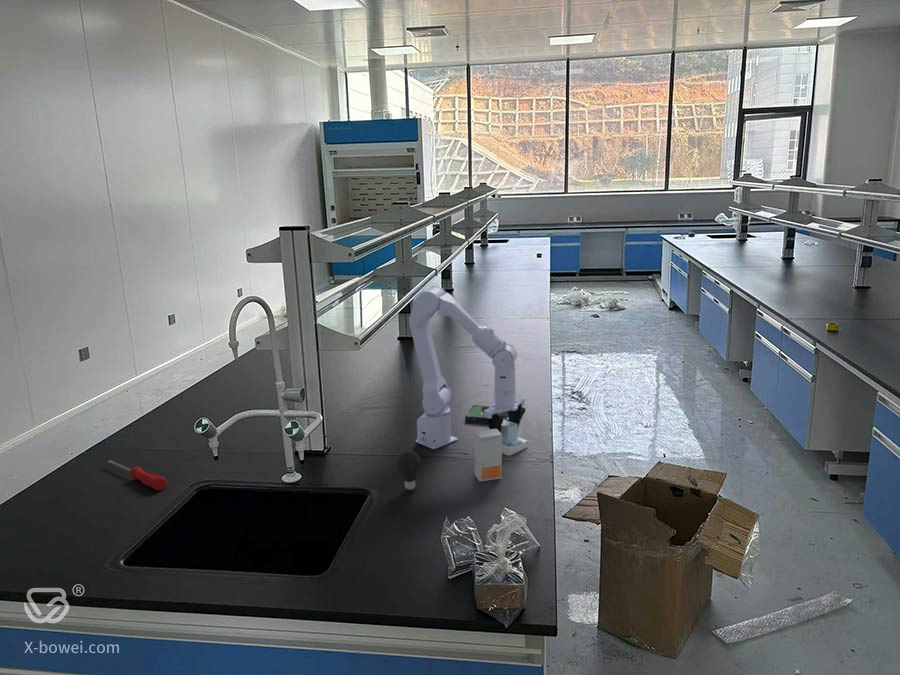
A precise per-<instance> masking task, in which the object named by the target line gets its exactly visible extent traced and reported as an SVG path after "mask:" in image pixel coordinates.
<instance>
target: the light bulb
mask: <svg viewBox="0 0 900 675" xmlns="http://www.w3.org/2000/svg"><path fill="white" fill-rule="evenodd" d="M421 466H422V460H421V457H420V455H419V454H418V453H417V452H415V451H414V450H411V449H410V450H406V451H403V452H401V454H399V455H398V458H397V468H398V470H399V471H400V473H401V475H402V477H403V480H404V487H405V489H406V490H408V491H412V490H413V489H415V487H416V478H417V474H418V472H419V470H420V469H421Z"/></svg>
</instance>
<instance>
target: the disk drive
mask: <svg viewBox="0 0 900 675" xmlns="http://www.w3.org/2000/svg"><path fill="white" fill-rule="evenodd" d="M489 407H491V405H490V406H487V405H475V404H474V405H472V407H471V408H470V409H468V412H467V413H466V415H465V416H464V422H465V423H469V424H476V425H477V424H478V425H487V426H488V424H487V422H486V420H485V419H484V410H487V409H488V408H489ZM498 416H499V418H502V419H504V420H507V421H509V416H508V412H507V411H505V412H503V413H500V414H498Z"/></svg>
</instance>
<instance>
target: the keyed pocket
mask: <svg viewBox="0 0 900 675" xmlns="http://www.w3.org/2000/svg"><path fill="white" fill-rule="evenodd" d="M518 439H519V440H522V443H520V444H518V445H516V446H513V445H511V446H506V445H503V444H502V455H505V456H509V457H510V456H512V455H514V454H516V453H518V452H520V451H522V450H525V449H527V448H528V440H527V439H524V438H521V437H519V436H518Z"/></svg>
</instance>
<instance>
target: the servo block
mask: <svg viewBox="0 0 900 675" xmlns="http://www.w3.org/2000/svg"><path fill="white" fill-rule="evenodd" d="M518 430H519V427H518V424H516V423H513V422H510V421H507V420H503V422H502V425H501V431H500V433H501V434H502V444H503V445H506V446H511V445H513V446H516V445H518V444H520V443H522V440H519V439H518V437H519V436H518V435H519V434H518V432H519V431H518Z"/></svg>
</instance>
